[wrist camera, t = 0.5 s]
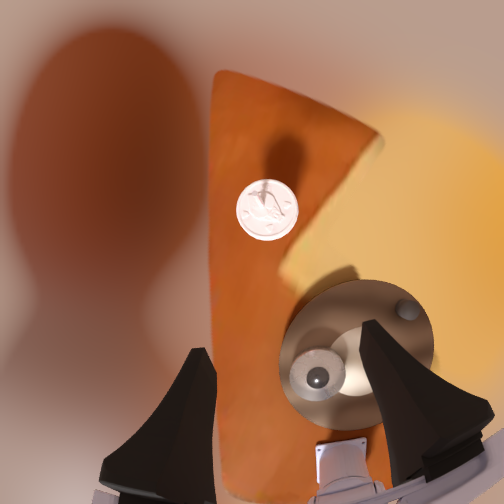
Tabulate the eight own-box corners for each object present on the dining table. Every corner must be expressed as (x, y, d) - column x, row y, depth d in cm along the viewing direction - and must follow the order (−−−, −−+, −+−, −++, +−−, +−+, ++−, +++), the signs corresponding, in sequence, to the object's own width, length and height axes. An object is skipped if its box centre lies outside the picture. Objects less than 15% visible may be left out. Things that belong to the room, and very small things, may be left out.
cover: (344, 389, 32) (347, 398, 29) (293, 396, 33) (291, 405, 30) (341, 341, 32) (344, 347, 29) (287, 349, 34) (286, 355, 31)
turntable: (426, 407, 30) (437, 419, 26) (287, 434, 34) (285, 450, 30) (424, 267, 32) (438, 266, 28) (270, 293, 36) (265, 295, 32)
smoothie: (270, 192, 38) (252, 150, 24) (308, 218, 36) (312, 187, 23) (243, 229, 38) (209, 206, 24) (280, 257, 37) (267, 248, 23)
